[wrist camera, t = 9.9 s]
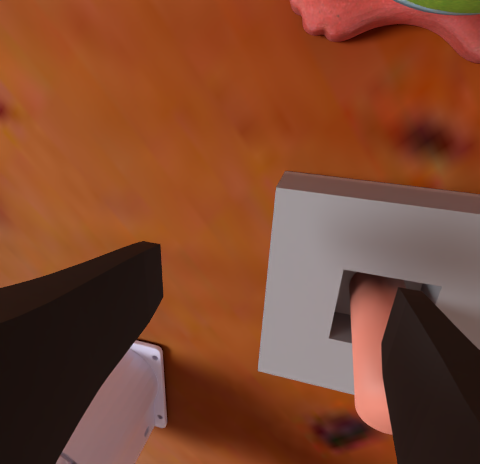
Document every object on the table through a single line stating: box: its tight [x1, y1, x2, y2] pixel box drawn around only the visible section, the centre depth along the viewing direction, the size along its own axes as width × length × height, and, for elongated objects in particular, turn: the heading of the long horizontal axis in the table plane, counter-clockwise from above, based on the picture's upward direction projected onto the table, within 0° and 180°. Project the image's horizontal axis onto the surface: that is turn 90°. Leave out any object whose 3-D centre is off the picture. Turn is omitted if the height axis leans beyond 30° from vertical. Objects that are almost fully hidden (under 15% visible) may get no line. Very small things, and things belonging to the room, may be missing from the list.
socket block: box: [258, 171, 480, 395], centre depth 19 cm, size 12×12×3 cm
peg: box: [349, 272, 406, 435], centre depth 16 cm, size 3×3×8 cm
